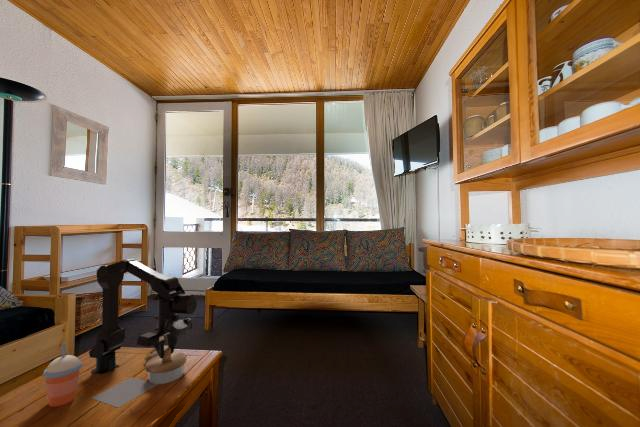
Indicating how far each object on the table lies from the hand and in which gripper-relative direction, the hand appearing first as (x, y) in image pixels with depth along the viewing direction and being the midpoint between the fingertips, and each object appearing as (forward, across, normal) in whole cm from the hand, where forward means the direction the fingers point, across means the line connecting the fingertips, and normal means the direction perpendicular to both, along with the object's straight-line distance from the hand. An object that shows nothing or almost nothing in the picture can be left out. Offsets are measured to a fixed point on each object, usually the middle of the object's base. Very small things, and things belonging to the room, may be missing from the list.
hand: (166, 355), depth 103 cm
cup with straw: (+8, -22, +18) cm, 29 cm away
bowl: (+7, 0, 0) cm, 7 cm away
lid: (+3, 0, 0) cm, 3 cm away
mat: (+7, -12, +4) cm, 15 cm away
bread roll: (+8, +7, +12) cm, 16 cm away
